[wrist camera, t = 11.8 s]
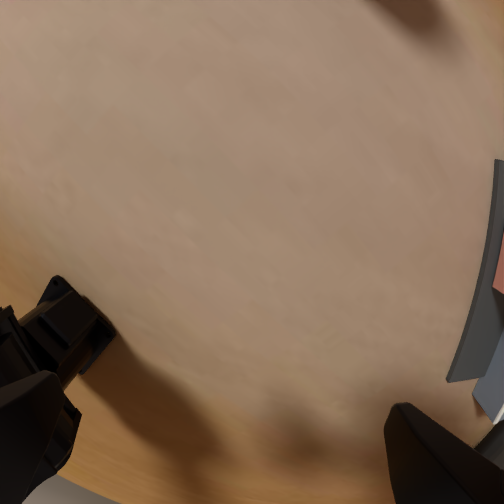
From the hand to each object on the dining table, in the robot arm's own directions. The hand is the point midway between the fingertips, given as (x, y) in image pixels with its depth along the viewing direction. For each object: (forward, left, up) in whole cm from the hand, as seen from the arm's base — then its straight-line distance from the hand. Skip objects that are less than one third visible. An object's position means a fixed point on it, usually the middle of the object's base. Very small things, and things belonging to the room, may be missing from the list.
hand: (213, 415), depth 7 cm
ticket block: (+13, -17, -13) cm, 25 cm away
